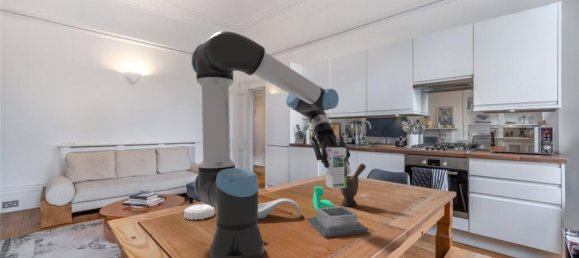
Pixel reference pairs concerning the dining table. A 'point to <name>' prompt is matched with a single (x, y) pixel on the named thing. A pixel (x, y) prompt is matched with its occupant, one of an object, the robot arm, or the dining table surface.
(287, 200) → the spoon rest
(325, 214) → the docking sleeve
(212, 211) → the mooncake
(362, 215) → the dining table surface
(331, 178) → the syrup box
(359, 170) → the mortar and pestle
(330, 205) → the camera mount
